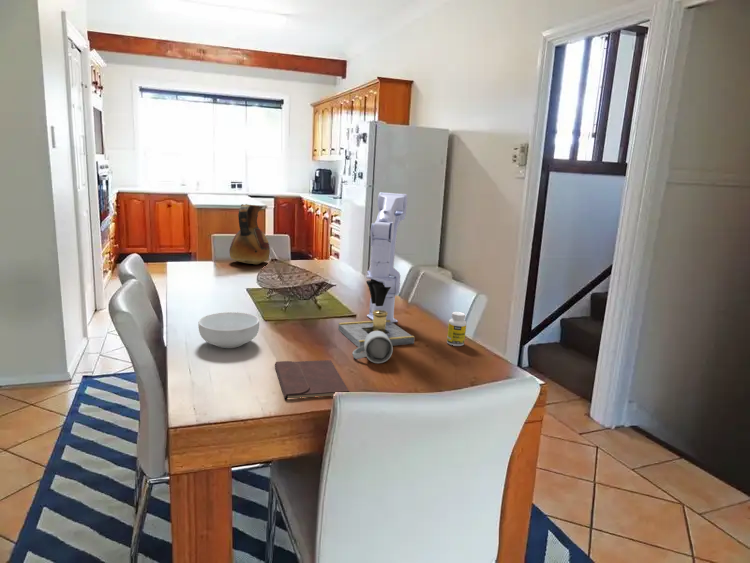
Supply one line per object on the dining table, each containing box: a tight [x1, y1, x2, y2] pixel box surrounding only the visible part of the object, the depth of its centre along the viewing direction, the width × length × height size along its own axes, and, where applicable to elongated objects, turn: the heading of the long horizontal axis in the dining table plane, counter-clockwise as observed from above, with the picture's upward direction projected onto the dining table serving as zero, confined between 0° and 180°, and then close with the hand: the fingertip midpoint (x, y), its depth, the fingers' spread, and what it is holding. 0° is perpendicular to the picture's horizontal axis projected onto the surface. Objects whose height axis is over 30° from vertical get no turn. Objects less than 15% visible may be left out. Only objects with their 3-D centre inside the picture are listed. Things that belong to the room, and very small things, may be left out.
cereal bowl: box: [198, 311, 260, 349], centre depth 149 cm, size 17×17×7 cm
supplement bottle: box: [446, 311, 467, 347], centre depth 161 cm, size 5×5×10 cm
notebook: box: [274, 359, 350, 399], centre depth 128 cm, size 15×20×2 cm
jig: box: [338, 320, 415, 348], centre depth 164 cm, size 18×18×2 cm
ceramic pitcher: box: [229, 203, 271, 265], centre depth 262 cm, size 20×20×30 cm
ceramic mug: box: [352, 331, 394, 364], centre depth 145 cm, size 11×8×8 cm
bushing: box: [372, 310, 388, 333], centre depth 163 cm, size 5×5×8 cm
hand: (377, 304), depth 162 cm, fingers open, 2 cm apart
